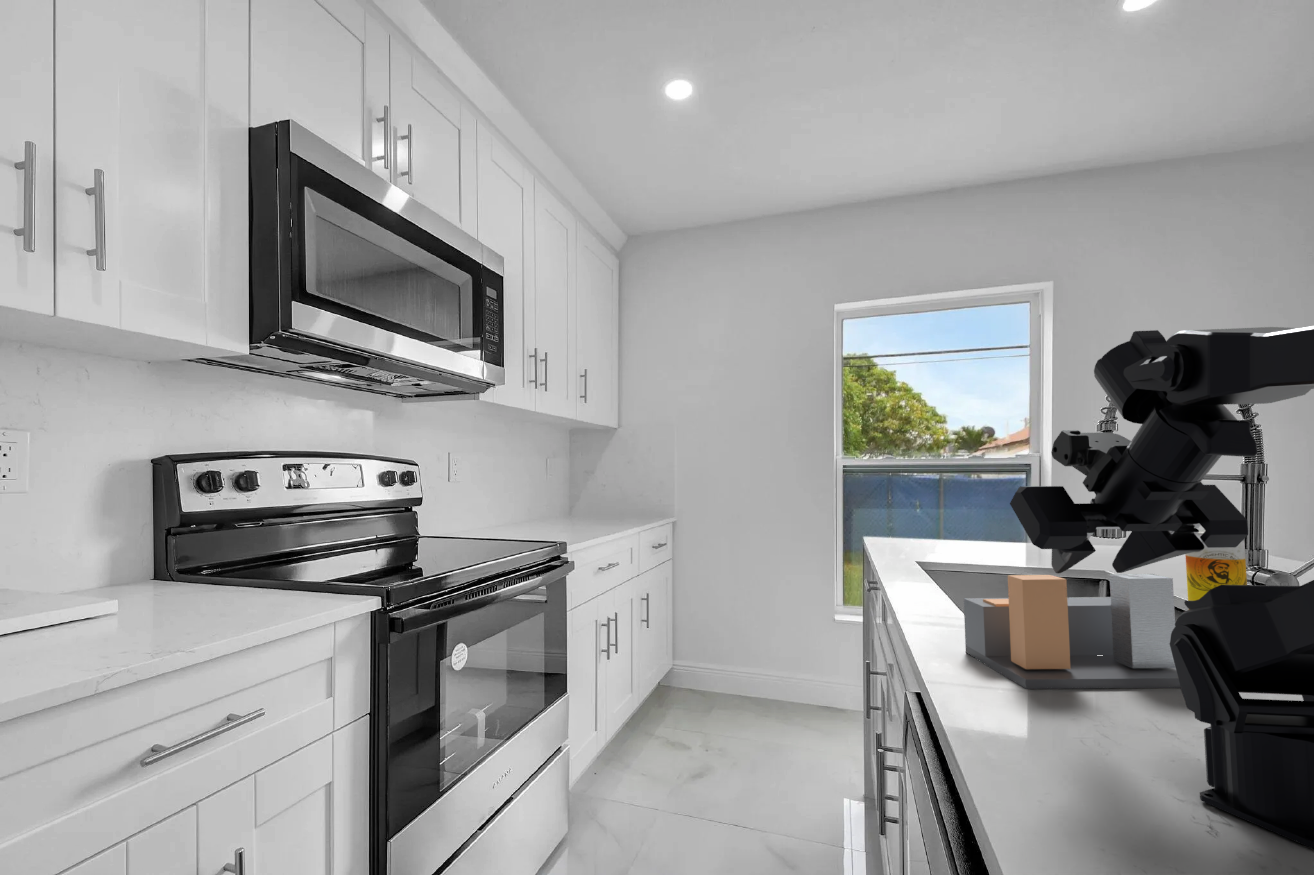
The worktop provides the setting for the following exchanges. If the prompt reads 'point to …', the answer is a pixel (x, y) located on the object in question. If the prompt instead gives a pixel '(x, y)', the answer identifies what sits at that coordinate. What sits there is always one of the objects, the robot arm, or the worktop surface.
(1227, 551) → the beer can
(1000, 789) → the worktop surface
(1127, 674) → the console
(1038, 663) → the tan rectangular block
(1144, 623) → the light grey block
